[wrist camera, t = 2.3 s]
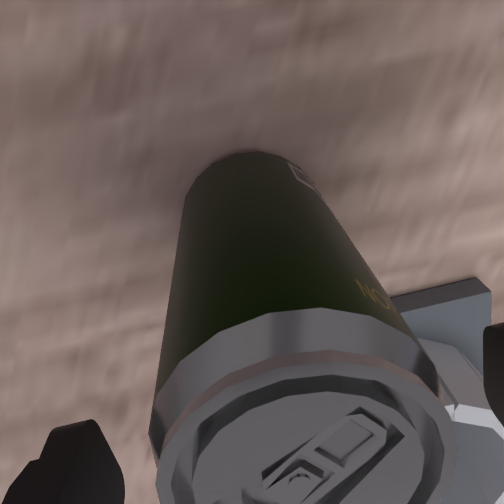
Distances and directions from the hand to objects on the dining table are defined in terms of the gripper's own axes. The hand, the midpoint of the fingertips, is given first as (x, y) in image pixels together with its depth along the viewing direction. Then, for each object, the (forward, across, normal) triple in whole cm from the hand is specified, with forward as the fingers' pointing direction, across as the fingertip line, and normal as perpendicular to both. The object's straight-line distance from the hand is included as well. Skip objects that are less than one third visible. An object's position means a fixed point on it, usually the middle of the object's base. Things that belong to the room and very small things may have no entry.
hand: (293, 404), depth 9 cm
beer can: (+10, 0, 0) cm, 10 cm away
